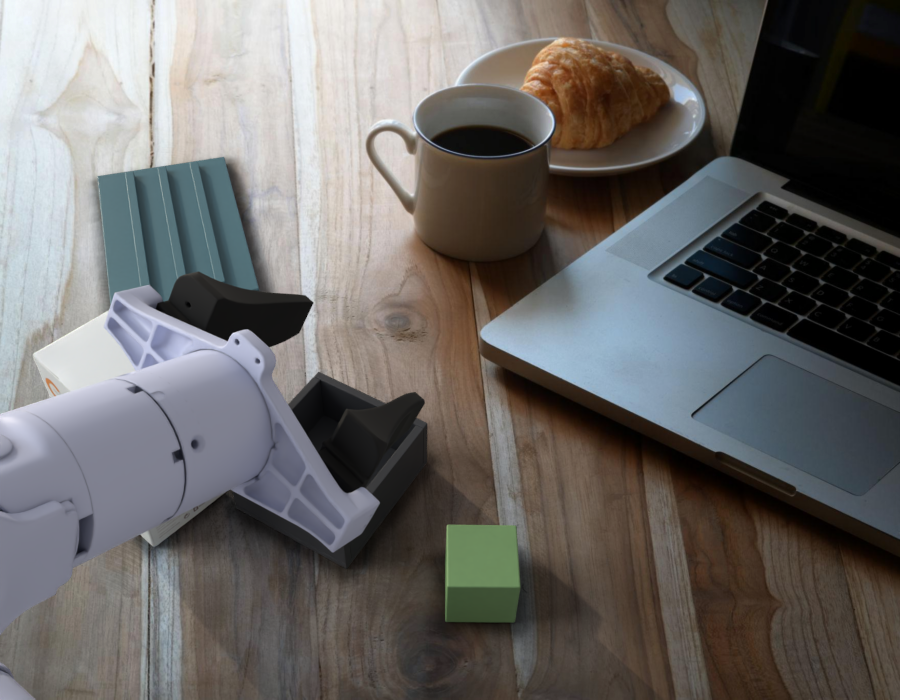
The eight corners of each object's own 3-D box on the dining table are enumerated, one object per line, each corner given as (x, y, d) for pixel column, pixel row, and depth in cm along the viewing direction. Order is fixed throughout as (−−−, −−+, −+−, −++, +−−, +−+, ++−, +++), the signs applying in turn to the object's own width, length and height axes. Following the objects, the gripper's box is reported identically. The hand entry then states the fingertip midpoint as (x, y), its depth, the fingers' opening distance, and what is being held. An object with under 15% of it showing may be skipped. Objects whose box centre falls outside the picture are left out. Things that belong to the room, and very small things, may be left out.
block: (445, 622, 59) (446, 586, 55) (445, 561, 62) (446, 523, 58) (515, 623, 59) (520, 587, 55) (511, 561, 62) (516, 524, 58)
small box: (229, 492, 65) (198, 364, 55) (153, 550, 61) (107, 425, 52) (158, 430, 68) (117, 300, 59) (83, 482, 65) (27, 354, 56)
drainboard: (260, 295, 79) (258, 283, 78) (113, 323, 76) (109, 310, 75) (225, 163, 92) (223, 151, 91) (99, 182, 89) (95, 170, 88)
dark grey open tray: (346, 569, 61) (342, 531, 58) (235, 508, 64) (226, 469, 61) (427, 462, 67) (427, 422, 64) (322, 411, 70) (318, 371, 67)
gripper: (304, 512, 30) (504, 396, 41) (37, 251, 35) (283, 208, 46) (235, 640, 34) (436, 501, 45) (0, 389, 38) (237, 318, 49)
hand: (355, 361), depth 46 cm, fingers open, 7 cm apart
